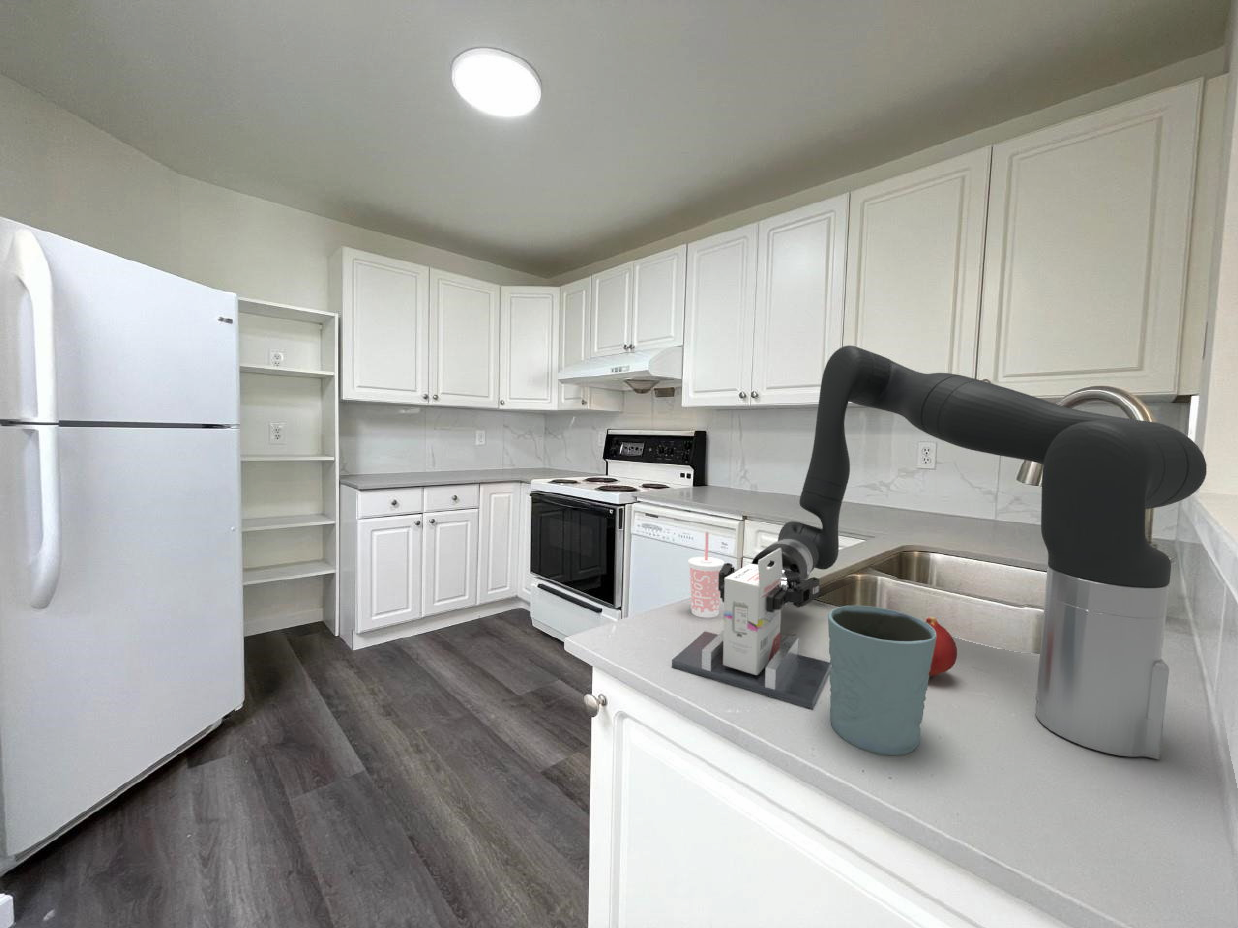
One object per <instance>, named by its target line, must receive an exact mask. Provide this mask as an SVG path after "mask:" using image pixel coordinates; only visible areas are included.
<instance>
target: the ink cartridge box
mask: <svg viewBox="0 0 1238 928" xmlns="http://www.w3.org/2000/svg"><path fill="white" fill-rule="evenodd" d="M770 560H771V561H774V565H773V566H772V567H767V565H768V564H769V563H770ZM782 577H783V570H782V551H781V548H779V549H777V550H776V551H773V552H772V553H770V554H768V555H767V556H765V557H764V558H762V559H760V560H759V561H758V565H756V564H751V563H748V564H747V565H745V566H743V567H741V568H740V569H738V571H736V572H735V573H733V574H731V575H729V576H727V577H726V578H724V580H725V585H724V586H725V590H724V602H723V630H724V637H723V665H725V666H728V667H731V668H735V669H738V670H741V671H744V672H747V673H750V674H754V675H758V674H759V673H760V672H761V671H762V670H763V668H764V667H765V666H766V665H767V664H768V663H769V662H770V661H771V659H772V658H773V657H774V655H775V654H776V652H777V651H778V650H779V648H780V640H781V621H782V620H781V619H782V608H781V609H779V610H775V611H774V612H773V613H772V612H767V596H768V594H769V593H770V592H771V591H772V590H773V589H774V588H775V587H777V588H778V584H779V583H780V582H781V580H782Z"/></svg>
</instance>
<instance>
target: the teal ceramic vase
mask: <svg viewBox="0 0 1238 928" xmlns="http://www.w3.org/2000/svg"><path fill="white" fill-rule="evenodd" d="M827 624H828V627H827V628H828V638H829V642H828V653H829V659H830V660H829V662H830V663H831V668H830V673H829V685H830V688H829V691H830V695H829V698H830V699H829V700H830V704H829V705H830V706H829V716H830V717H829V718H830V719H829V720H830V724H831V727H832V728H833V730H834V732H836V734H837V735H838V736H840V737H841V738H842V739H843V740H844V741H845V742H848V743H849V744H851V745H852V746H855V747H856V748H859V749H861V750H865V751H867V752H869V753H874V754H878V755H883V756H904V755H907V754H910V753H912V752H914V751H915V750H916V748H918V745H919V743H920V737H921V724H922V722H923V717H924V710H925V703H924V702H925V701H926V700H927V699H926V698H927V697H926V694H927V691H928V687H929V686H928V683H929V680H930V677H929V672H930V668H931V663H932V658H933V653H934V648H935V643H936V638H937V635H936V632H935V630H934V628H933V627H932V626H930V625H929V624H928V623H926V621H924V620H922V619H920V618H917V617H916V616H913V615H911V614H907V613H904V612H901V611H897V610H894V609H889V608H884V607H879V606H878V607H877V606H869V605H844V606H838V607H835V608H833V609H831V610H830V611H829V612H828V614H827Z"/></svg>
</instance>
